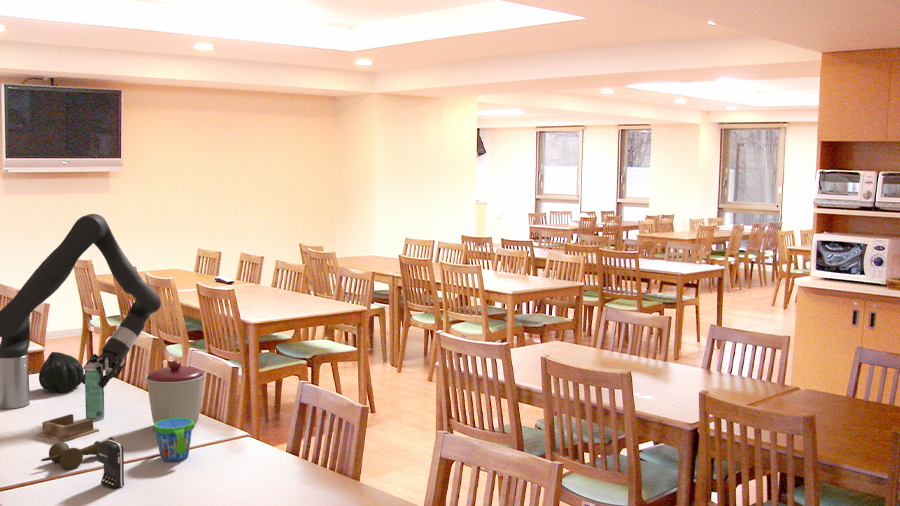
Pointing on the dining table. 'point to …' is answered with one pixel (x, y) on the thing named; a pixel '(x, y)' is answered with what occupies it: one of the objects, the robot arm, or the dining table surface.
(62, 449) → the kendama
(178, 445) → the snack cup
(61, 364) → the squash
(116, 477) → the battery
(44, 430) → the keeper cradle
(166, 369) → the canister
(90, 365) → the spray can
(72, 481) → the dining table surface
